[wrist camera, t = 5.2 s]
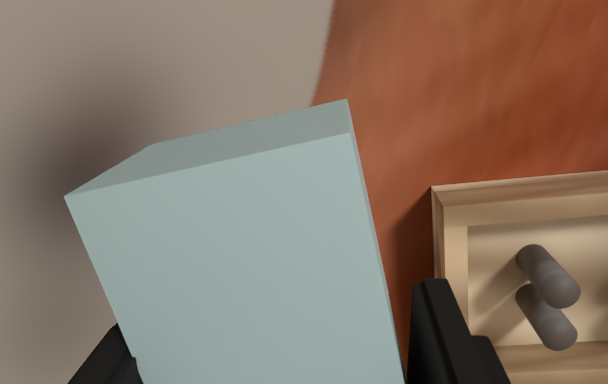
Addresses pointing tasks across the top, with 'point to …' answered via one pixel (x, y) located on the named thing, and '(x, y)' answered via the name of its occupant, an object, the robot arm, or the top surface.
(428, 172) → the top surface
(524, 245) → the wooden drawer
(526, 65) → the top surface
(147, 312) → the block
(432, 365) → the robot arm
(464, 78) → the top surface
